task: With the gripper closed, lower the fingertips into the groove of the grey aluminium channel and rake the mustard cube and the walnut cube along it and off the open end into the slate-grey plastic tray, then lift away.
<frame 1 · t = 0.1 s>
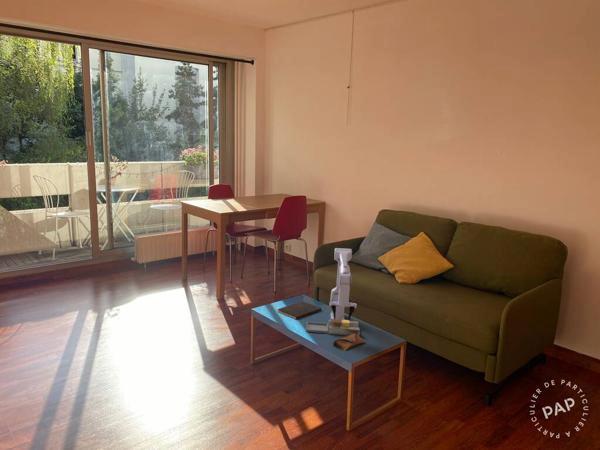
hand: (341, 319, 255), 10 cm above the table, fingers open, 7 cm apart
tray: (317, 328, 265), on the table
channel: (343, 330, 265), on the table
sunglasses case: (349, 345, 248), on the table
mustard cube: (345, 328, 265), point 2 cm above the table, touching channel
walnut cube: (336, 327, 265), point 2 cm above the table, touching channel
hardcover book: (299, 312, 290), on the table
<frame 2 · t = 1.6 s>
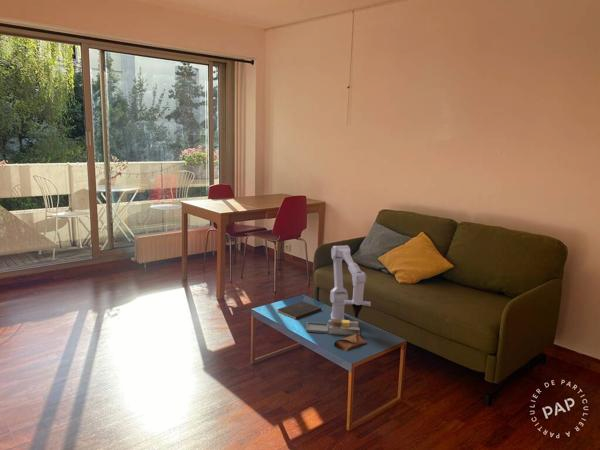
hand: (356, 317, 263), 9 cm above the table, fingers closed
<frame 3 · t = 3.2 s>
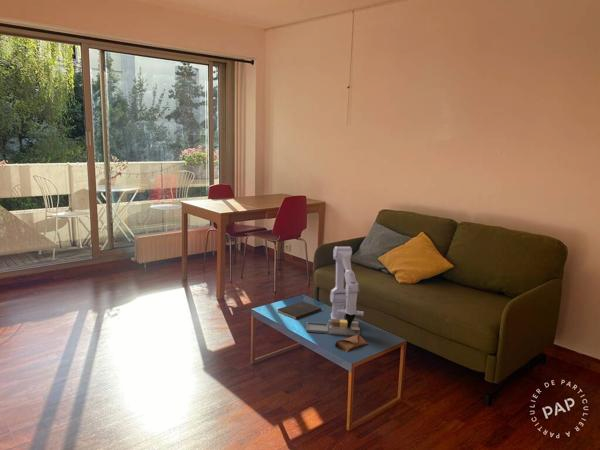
hand: (349, 326, 264), 3 cm above the table, fingers closed
mustard cube: (342, 327, 265), point 2 cm above the table, touching gripper, walnut cube
walnut cube: (335, 327, 265), point 2 cm above the table, touching mustard cube
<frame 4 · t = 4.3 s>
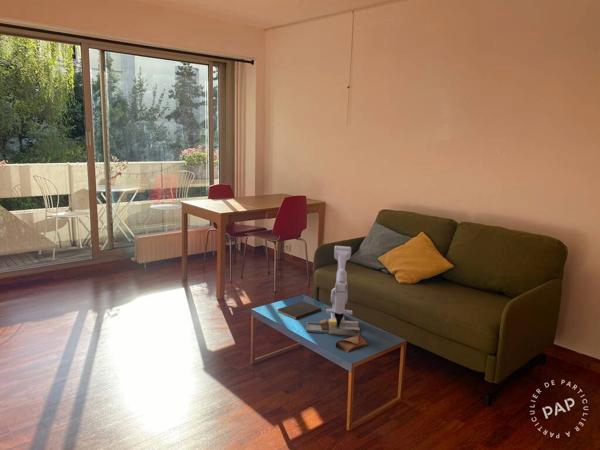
hand: (338, 325, 265), 3 cm above the table, fingers closed
mustard cube: (332, 327, 265), point 2 cm above the table, touching channel, gripper, walnut cube
walnut cube: (325, 327, 265), point 1 cm above the table, tilted 23°, touching mustard cube
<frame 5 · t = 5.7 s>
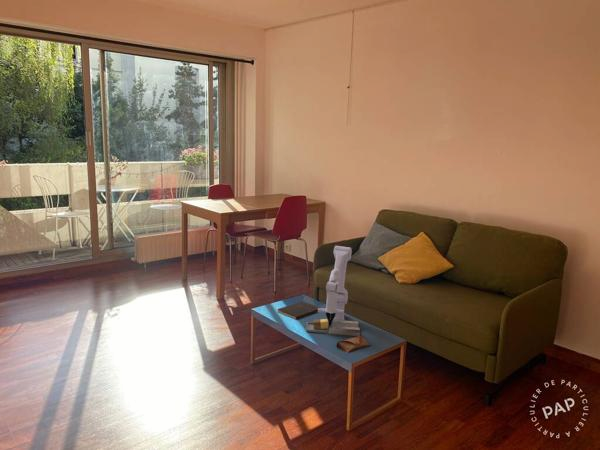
hand: (329, 325, 265), 3 cm above the table, fingers closed
mustard cube: (324, 327, 265), point 1 cm above the table, tilted 8°, touching gripper, walnut cube
walnut cube: (317, 327, 265), point 1 cm above the table, tilted 8°, touching mustard cube
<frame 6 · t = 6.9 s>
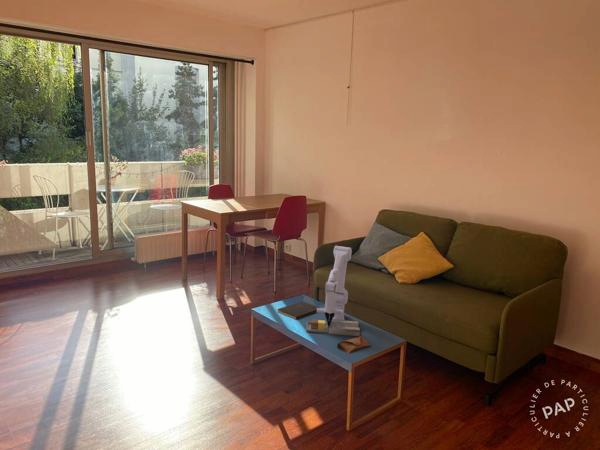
hand: (328, 325, 265), 3 cm above the table, fingers closed
mustard cube: (321, 328, 265), resting on tray
walnut cube: (314, 327, 266), resting on tray
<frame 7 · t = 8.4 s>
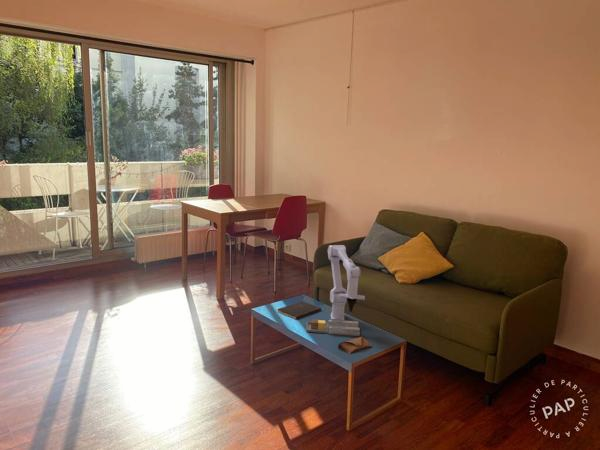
hand: (350, 310, 267), 10 cm above the table, fingers closed
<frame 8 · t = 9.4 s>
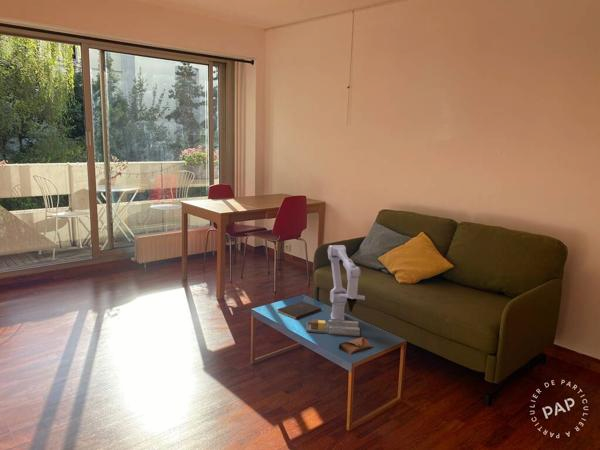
hand: (350, 310, 267), 10 cm above the table, fingers closed
at the end: mustard cube inside the target area on the tray (2.4 cm from its centre), point 0.4 cm above the tray's base; walnut cube inside the target area on the tray (1.7 cm from its centre), point 0.4 cm above the tray's base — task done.
